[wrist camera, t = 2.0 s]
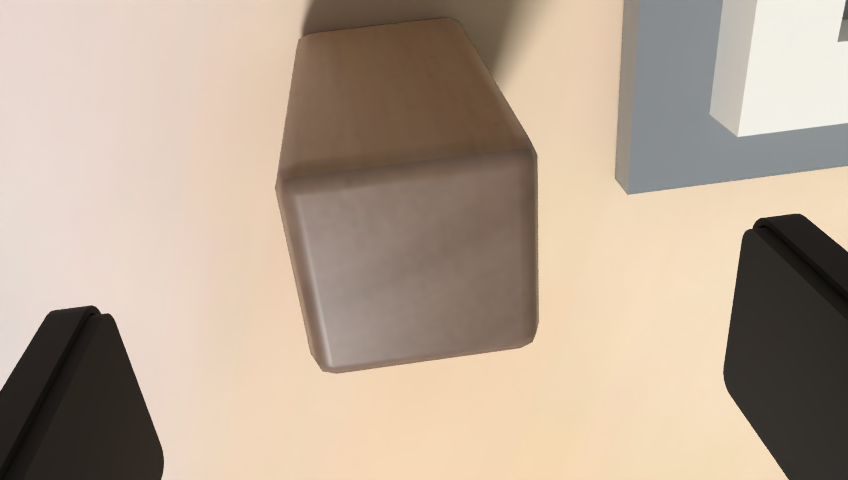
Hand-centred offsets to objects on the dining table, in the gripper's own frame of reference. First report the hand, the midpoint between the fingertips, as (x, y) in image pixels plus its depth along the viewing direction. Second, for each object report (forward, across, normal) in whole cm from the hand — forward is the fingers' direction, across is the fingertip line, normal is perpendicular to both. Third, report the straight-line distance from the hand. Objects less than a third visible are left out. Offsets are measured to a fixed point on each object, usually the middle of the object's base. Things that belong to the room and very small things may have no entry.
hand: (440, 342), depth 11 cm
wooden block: (+9, 0, -1) cm, 9 cm away
